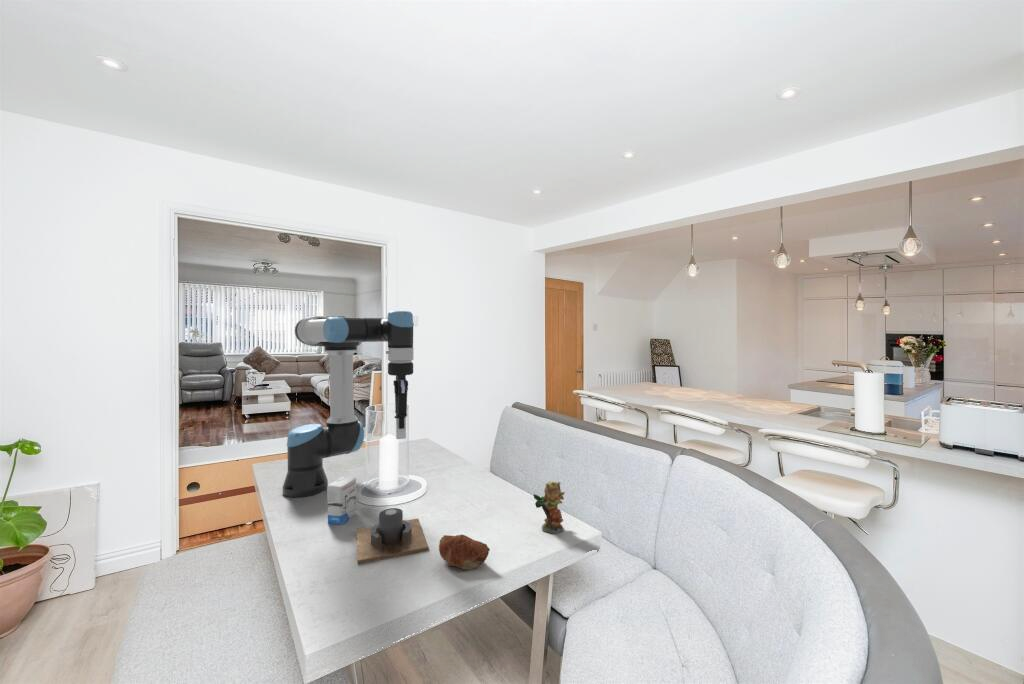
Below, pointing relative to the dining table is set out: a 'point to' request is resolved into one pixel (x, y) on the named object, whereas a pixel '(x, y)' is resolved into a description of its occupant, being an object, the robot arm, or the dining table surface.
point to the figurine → (551, 507)
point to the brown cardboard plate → (376, 550)
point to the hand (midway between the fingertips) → (400, 438)
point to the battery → (391, 525)
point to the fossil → (463, 551)
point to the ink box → (341, 500)
